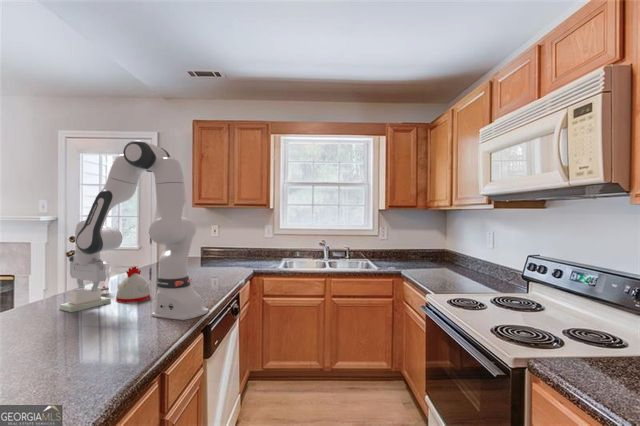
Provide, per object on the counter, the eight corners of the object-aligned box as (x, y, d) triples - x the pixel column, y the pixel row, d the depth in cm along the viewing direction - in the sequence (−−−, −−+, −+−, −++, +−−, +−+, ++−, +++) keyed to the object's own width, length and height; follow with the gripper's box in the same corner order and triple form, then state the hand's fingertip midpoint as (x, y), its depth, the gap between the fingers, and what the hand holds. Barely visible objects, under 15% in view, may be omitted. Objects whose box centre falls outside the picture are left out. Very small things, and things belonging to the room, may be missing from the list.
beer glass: (113, 292, 167) (114, 262, 167) (100, 295, 161) (100, 264, 161) (103, 291, 170) (103, 261, 169) (89, 294, 163) (90, 263, 163)
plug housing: (111, 296, 151) (111, 285, 151) (75, 304, 138) (76, 292, 138) (105, 295, 153) (106, 284, 153) (70, 303, 140) (70, 291, 140)
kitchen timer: (108, 301, 152) (109, 268, 152) (131, 294, 166) (132, 263, 166) (134, 303, 149) (135, 270, 149) (156, 296, 163) (157, 265, 163)
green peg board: (110, 303, 149) (110, 290, 149) (70, 312, 135) (70, 298, 135) (99, 300, 153) (100, 288, 153) (59, 309, 138) (59, 296, 138)
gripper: (110, 258, 142) (110, 291, 142) (82, 255, 151) (82, 286, 151) (94, 260, 136) (94, 294, 136) (66, 257, 145) (66, 289, 145)
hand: (87, 290), depth 144 cm, fingers open, 8 cm apart
